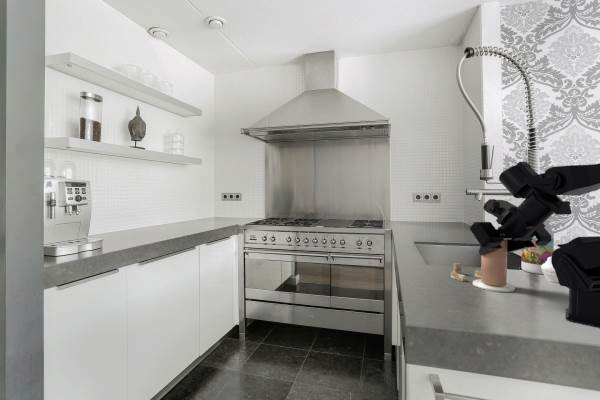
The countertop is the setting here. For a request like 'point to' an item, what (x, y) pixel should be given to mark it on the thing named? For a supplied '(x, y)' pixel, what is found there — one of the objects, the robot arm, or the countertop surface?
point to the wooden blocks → (457, 273)
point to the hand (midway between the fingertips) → (489, 253)
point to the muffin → (549, 271)
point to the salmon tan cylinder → (495, 266)
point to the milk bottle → (537, 253)
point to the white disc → (493, 286)
